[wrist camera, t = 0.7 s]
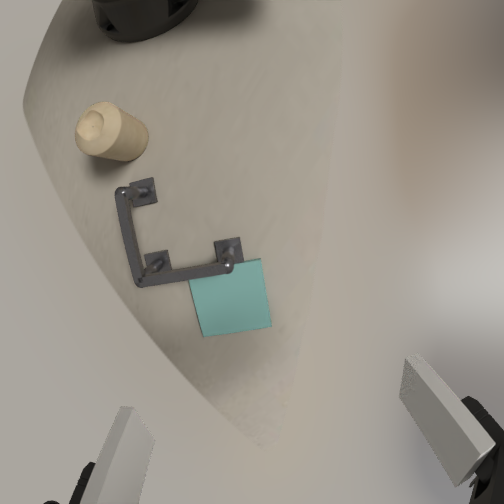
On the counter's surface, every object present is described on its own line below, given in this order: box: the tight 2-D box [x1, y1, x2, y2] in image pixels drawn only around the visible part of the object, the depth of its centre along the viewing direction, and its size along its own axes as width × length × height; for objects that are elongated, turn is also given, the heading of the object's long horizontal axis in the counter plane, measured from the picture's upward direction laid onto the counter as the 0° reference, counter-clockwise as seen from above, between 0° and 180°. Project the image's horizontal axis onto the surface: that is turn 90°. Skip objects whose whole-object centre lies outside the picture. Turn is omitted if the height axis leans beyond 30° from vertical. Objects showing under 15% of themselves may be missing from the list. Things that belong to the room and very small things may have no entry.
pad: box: [189, 258, 272, 337], centre depth 34 cm, size 9×9×1 cm
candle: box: [75, 102, 148, 161], centre depth 25 cm, size 6×6×10 cm
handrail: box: [115, 177, 244, 288], centre depth 29 cm, size 12×12×8 cm
